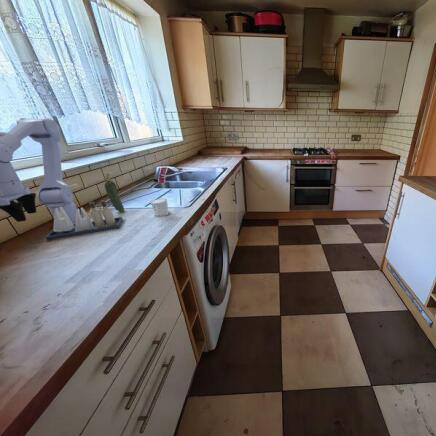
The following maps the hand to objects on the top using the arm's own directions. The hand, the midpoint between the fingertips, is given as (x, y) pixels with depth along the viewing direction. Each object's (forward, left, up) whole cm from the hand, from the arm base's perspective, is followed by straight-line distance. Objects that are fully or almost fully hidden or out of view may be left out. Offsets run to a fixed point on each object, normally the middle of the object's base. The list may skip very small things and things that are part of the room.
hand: (27, 216), depth 83 cm
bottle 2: (-3, +23, -10) cm, 25 cm away
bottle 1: (-3, +19, -10) cm, 21 cm away
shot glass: (-8, +42, -11) cm, 44 cm away
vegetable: (-19, +23, -11) cm, 31 cm away
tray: (-3, +14, -10) cm, 18 cm away
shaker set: (-3, +10, -10) cm, 15 cm away
